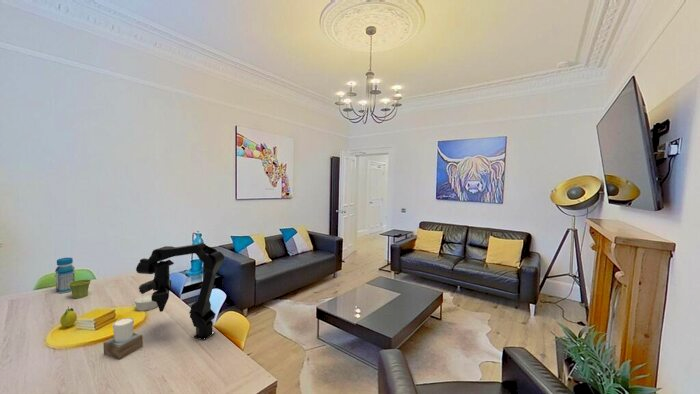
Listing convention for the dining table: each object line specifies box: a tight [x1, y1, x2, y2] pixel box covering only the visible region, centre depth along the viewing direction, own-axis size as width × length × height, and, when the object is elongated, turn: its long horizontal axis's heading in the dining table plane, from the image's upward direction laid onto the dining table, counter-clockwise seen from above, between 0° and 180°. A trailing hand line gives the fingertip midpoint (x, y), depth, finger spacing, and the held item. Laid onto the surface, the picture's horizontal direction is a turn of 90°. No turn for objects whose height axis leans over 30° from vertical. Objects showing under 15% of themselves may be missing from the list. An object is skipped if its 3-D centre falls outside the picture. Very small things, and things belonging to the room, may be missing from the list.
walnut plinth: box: [103, 332, 144, 360], centre depth 114 cm, size 9×9×5 cm
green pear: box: [59, 305, 78, 327], centre depth 129 cm, size 7×6×10 cm
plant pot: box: [68, 278, 92, 299], centre depth 161 cm, size 9×9×9 cm
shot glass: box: [112, 317, 135, 342], centre depth 113 cm, size 7×7×7 cm
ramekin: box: [134, 293, 158, 312], centre depth 151 cm, size 11×11×5 cm
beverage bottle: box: [54, 257, 76, 294], centre depth 168 cm, size 8×8×20 cm
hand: (162, 307), depth 127 cm, fingers open, 9 cm apart
